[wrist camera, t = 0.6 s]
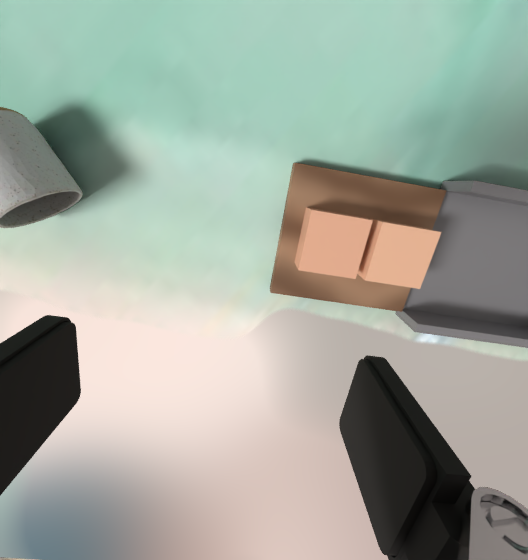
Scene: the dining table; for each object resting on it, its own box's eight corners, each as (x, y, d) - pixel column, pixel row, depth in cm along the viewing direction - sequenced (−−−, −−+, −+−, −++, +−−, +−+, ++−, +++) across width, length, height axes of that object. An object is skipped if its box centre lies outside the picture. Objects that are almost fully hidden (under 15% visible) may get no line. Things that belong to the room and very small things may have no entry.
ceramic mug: (43, 111, 26) (-41, 85, 19) (98, 190, 29) (43, 192, 22) (-35, 168, 28) (-138, 163, 21) (24, 237, 30) (-50, 255, 23)
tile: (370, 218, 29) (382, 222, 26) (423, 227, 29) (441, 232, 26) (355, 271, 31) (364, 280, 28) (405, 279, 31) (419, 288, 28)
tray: (443, 181, 29) (474, 180, 25) (594, 209, 31) (648, 213, 26) (395, 313, 34) (414, 331, 30) (526, 332, 36) (562, 352, 32)
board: (293, 163, 28) (295, 162, 27) (437, 190, 30) (446, 190, 28) (269, 287, 33) (270, 292, 31) (395, 306, 34) (401, 311, 33)
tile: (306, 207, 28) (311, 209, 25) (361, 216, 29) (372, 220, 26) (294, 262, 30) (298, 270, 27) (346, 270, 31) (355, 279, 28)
